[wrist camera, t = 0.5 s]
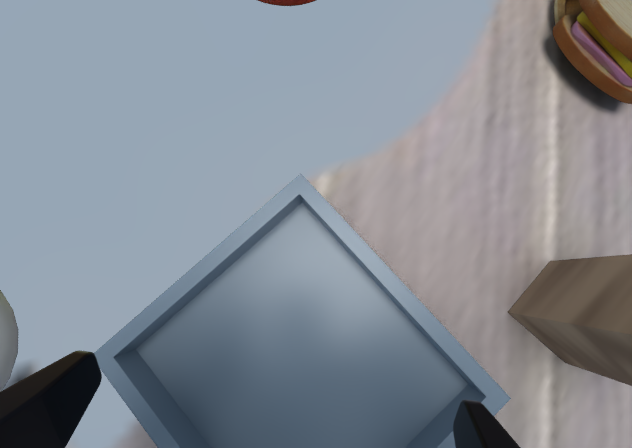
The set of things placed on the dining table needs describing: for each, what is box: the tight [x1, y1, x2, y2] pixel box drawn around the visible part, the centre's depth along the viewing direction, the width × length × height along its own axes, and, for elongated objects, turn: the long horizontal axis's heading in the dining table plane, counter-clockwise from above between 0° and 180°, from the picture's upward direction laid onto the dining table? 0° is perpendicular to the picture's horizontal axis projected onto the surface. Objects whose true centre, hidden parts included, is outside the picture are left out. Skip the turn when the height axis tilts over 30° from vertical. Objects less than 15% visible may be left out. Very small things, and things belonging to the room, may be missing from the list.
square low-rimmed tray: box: [94, 174, 511, 448], centre depth 19 cm, size 15×14×5 cm
